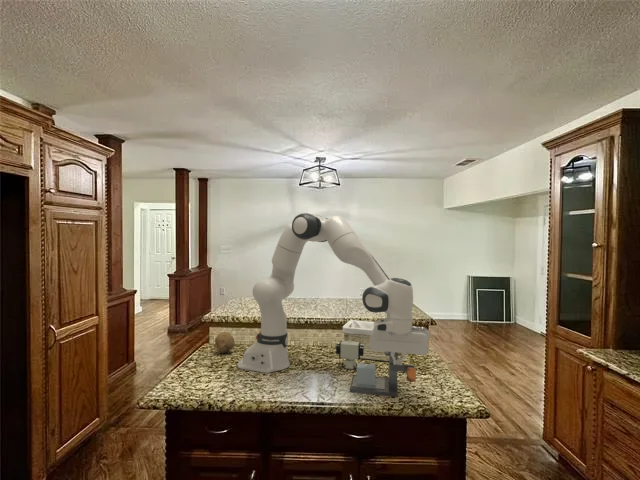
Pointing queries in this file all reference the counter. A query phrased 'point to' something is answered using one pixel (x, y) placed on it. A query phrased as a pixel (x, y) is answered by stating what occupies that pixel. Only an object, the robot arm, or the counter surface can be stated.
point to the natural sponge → (224, 342)
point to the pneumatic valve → (350, 352)
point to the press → (382, 381)
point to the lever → (411, 374)
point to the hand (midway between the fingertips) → (397, 364)
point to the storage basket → (363, 338)
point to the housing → (366, 374)
